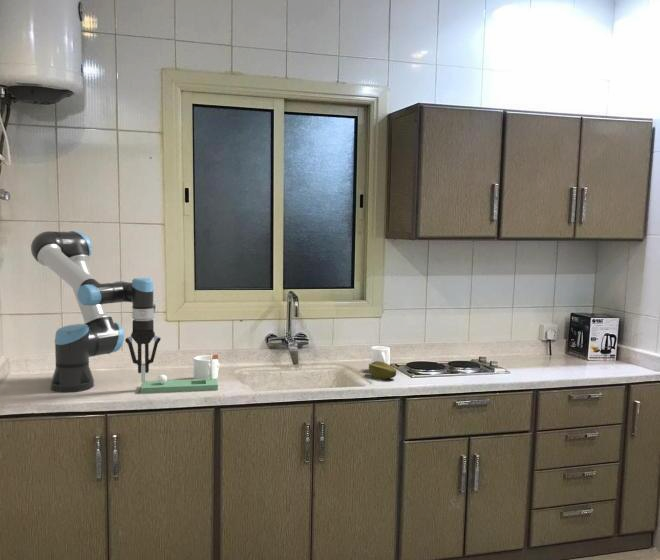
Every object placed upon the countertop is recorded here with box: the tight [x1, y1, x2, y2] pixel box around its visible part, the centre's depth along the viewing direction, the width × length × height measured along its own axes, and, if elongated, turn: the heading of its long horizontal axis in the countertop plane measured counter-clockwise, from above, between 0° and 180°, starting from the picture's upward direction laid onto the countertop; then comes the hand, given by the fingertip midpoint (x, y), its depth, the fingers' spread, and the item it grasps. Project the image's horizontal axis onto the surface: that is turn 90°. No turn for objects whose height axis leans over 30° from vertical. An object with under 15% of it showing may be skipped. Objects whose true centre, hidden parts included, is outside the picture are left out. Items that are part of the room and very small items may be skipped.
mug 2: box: [370, 345, 391, 366], centre depth 264 cm, size 12×8×10 cm
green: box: [140, 354, 219, 394], centre depth 229 cm, size 29×10×12 cm, turn 105°
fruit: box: [368, 361, 397, 380], centre depth 254 cm, size 11×12×7 cm
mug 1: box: [193, 354, 221, 380], centre depth 242 cm, size 12×10×9 cm
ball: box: [156, 374, 168, 384], centre depth 227 cm, size 4×4×4 cm
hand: (143, 381), depth 225 cm, fingers closed
